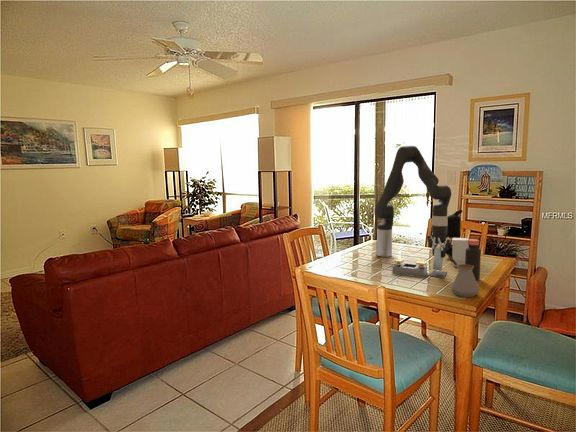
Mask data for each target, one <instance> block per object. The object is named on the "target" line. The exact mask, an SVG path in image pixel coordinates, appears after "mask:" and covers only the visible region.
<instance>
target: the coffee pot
mask: <svg viewBox="0 0 576 432" xmlns="http://www.w3.org/2000/svg"><path fill="white" fill-rule="evenodd" d="M444 258H449V259H450V261H451V262H453V263H454V264H455V265H456V266H457V269H458V270H459V271H458V272H457V274H456V276H455V278H454V280H453V282H452V284H451V285H450V288H451V290H452V291H453V293H455V294H456V295H457V296H459V297H464V298H472V297H475V295H477V294H479V292H480V286H479V284H478V282H477V281H476V279H475V277H474V274H473V272H472V270H473V268H474V266H472V265H467V264H461V265H457V263H456V262H455V260H454V259H453V258H452V257H451V256H450V255H449V254H445V257H444Z"/></svg>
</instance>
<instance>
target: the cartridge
mask: <svg viewBox="0 0 576 432" xmlns="http://www.w3.org/2000/svg"><path fill="white" fill-rule="evenodd" d="M441 251H442V250H441V247H440V245H437V246H436V248H434V256H433V264H432V265H433V266H432V269H433V271H443V264H444V263H443V260H444V258H441Z"/></svg>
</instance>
